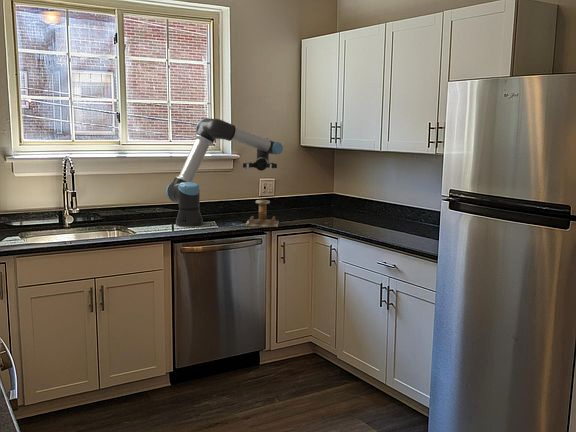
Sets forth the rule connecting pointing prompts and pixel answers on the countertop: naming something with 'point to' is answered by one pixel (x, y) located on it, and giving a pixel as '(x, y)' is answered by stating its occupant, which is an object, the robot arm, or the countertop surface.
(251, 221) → the board
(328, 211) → the countertop surface
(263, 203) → the bobbin
